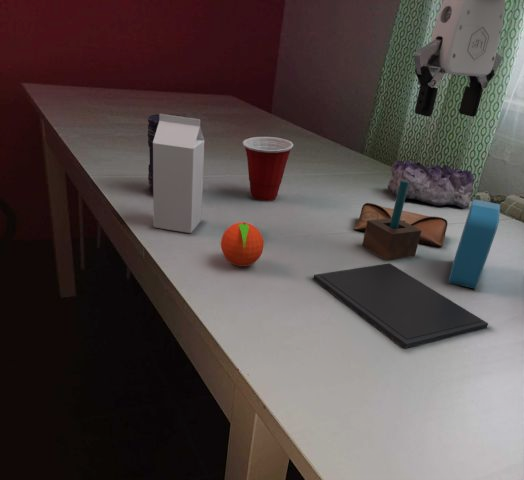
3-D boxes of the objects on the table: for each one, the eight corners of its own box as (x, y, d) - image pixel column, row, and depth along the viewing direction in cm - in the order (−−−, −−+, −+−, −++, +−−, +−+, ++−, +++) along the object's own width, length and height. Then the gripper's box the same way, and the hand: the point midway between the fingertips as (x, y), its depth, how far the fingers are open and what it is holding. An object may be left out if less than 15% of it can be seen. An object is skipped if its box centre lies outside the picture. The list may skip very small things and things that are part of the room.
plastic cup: (228, 193, 121) (232, 137, 114) (263, 187, 127) (269, 134, 121) (261, 207, 114) (267, 149, 108) (296, 200, 121) (304, 145, 115)
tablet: (388, 267, 94) (389, 262, 93) (487, 328, 78) (489, 322, 78) (313, 279, 87) (313, 273, 86) (404, 348, 71) (406, 343, 70)
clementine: (263, 277, 85) (268, 234, 81) (219, 274, 84) (222, 231, 81) (260, 257, 92) (264, 216, 88) (219, 254, 91) (221, 213, 87)
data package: (453, 261, 99) (473, 196, 93) (478, 266, 98) (500, 202, 92) (447, 285, 90) (469, 215, 83) (475, 292, 89) (499, 221, 82)
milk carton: (191, 234, 98) (194, 122, 87) (153, 228, 98) (152, 117, 88) (201, 221, 104) (205, 116, 93) (165, 216, 104) (166, 110, 94)
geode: (464, 199, 137) (479, 160, 130) (469, 219, 128) (485, 178, 122) (385, 184, 138) (396, 145, 132) (384, 202, 129) (395, 162, 123)
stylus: (388, 249, 101) (405, 179, 94) (393, 252, 100) (411, 182, 93) (382, 249, 101) (398, 180, 94) (387, 252, 100) (404, 182, 93)
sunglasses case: (352, 228, 107) (361, 195, 107) (354, 236, 114) (362, 205, 114) (444, 247, 104) (453, 213, 103) (440, 253, 111) (448, 222, 110)
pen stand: (390, 242, 104) (396, 217, 102) (414, 256, 100) (421, 230, 97) (361, 245, 101) (367, 220, 99) (385, 260, 96) (392, 234, 94)
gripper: (453, -22, 70) (421, 119, 79) (539, -8, 77) (500, 119, 86) (414, -23, 75) (388, 110, 84) (498, -10, 83) (465, 110, 92)
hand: (445, 114), depth 85 cm, fingers open, 9 cm apart
